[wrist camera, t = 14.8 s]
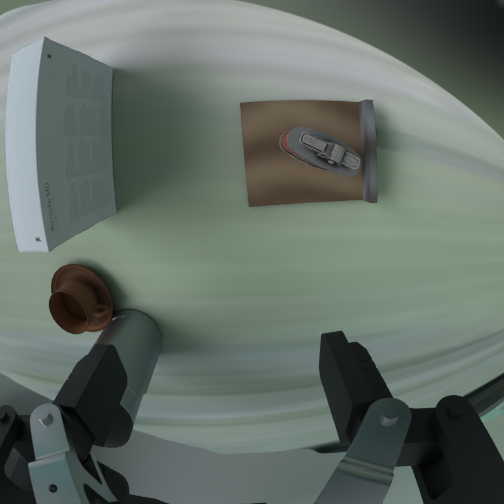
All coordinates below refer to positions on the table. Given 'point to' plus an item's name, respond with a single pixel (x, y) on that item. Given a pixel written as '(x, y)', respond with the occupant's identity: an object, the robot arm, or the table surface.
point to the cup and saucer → (80, 300)
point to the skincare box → (58, 144)
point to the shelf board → (295, 172)
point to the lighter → (320, 151)
